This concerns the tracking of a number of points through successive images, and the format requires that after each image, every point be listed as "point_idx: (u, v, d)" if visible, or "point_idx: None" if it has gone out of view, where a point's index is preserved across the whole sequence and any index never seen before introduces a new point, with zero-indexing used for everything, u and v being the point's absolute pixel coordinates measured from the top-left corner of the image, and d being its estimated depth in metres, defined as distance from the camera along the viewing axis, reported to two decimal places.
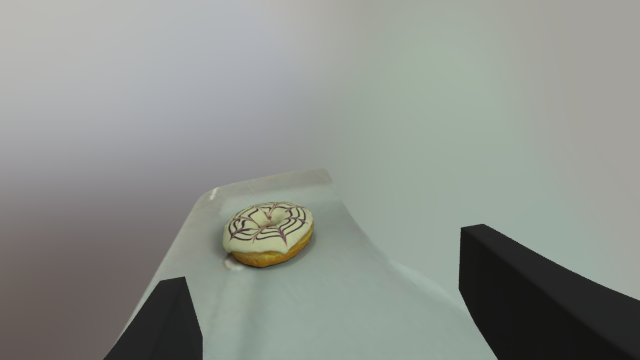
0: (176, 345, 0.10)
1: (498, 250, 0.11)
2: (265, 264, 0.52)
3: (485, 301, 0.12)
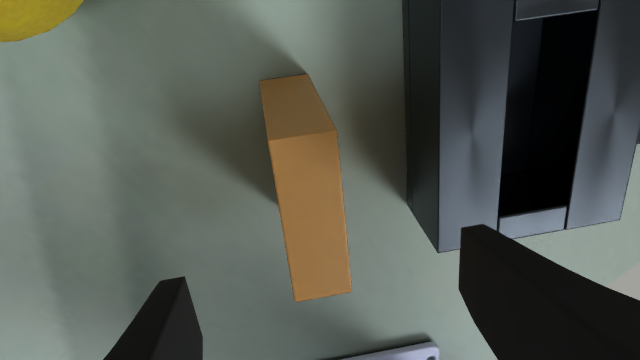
0: (176, 345, 0.10)
1: (498, 250, 0.11)
2: None
3: (485, 301, 0.12)
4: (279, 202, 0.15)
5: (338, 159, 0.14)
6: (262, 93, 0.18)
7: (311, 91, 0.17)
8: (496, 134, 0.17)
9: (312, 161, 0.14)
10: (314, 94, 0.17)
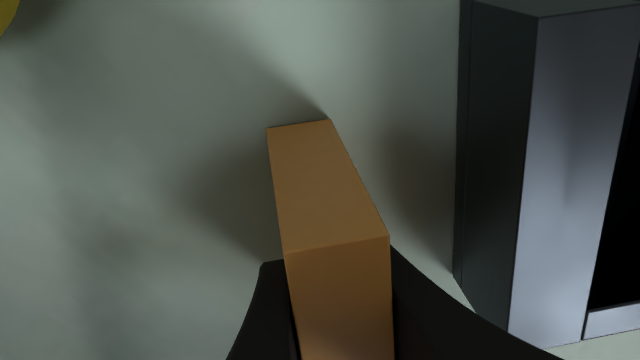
0: (294, 323, 0.10)
1: None
2: None
3: None
4: (298, 335, 0.10)
5: (389, 274, 0.09)
6: (270, 151, 0.13)
7: (339, 151, 0.12)
8: (596, 209, 0.13)
9: (350, 278, 0.09)
10: (344, 157, 0.12)
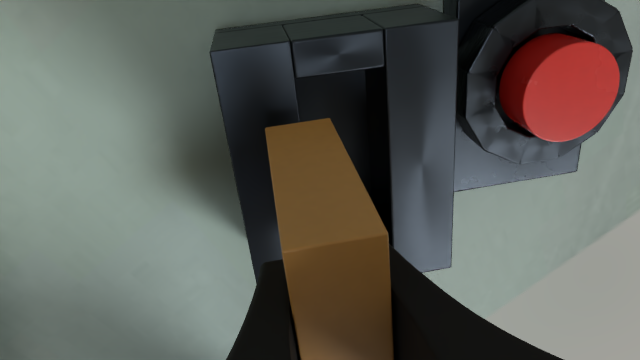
0: None
1: None
2: None
3: None
4: (297, 334, 0.10)
5: (388, 273, 0.09)
6: (270, 150, 0.13)
7: (338, 150, 0.12)
8: None
9: (349, 277, 0.09)
10: (343, 156, 0.12)
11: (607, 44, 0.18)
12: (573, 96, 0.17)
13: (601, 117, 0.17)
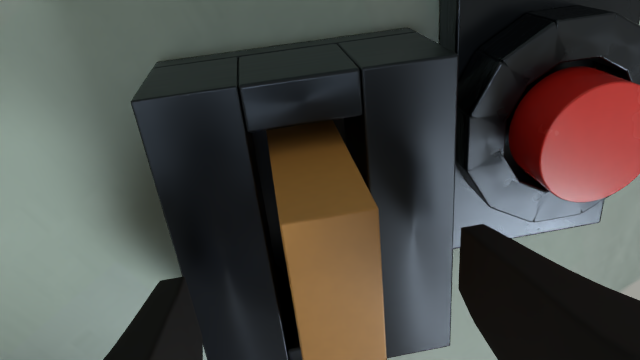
0: (176, 345, 0.10)
1: (498, 250, 0.11)
2: None
3: (485, 301, 0.12)
4: (294, 304, 0.10)
5: (378, 246, 0.10)
6: (269, 137, 0.14)
7: (333, 136, 0.13)
8: (258, 262, 0.14)
9: (342, 250, 0.10)
10: (338, 141, 0.13)
11: None
12: (603, 148, 0.13)
13: (638, 172, 0.14)
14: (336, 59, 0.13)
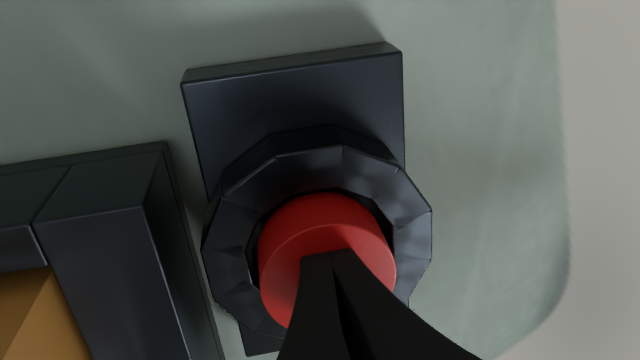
0: None
1: (344, 278, 0.10)
2: None
3: (343, 328, 0.11)
4: None
5: None
6: None
7: (40, 277, 0.12)
8: None
9: None
10: (35, 288, 0.12)
11: (393, 206, 0.13)
12: None
13: None
14: (30, 201, 0.12)
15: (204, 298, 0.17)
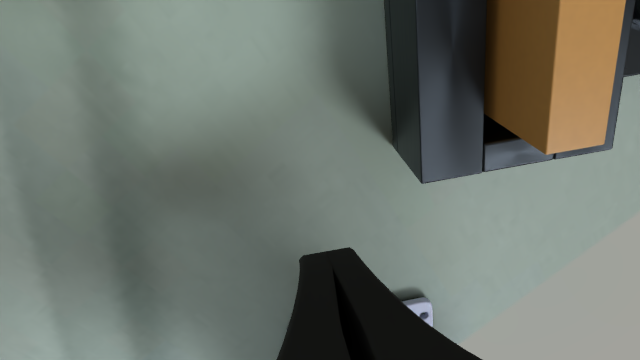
0: None
1: (344, 278, 0.10)
2: None
3: (343, 328, 0.11)
4: (559, 26, 0.13)
5: None
6: None
7: None
8: (477, 50, 0.17)
9: None
10: None
11: None
12: None
13: None
14: None
15: None
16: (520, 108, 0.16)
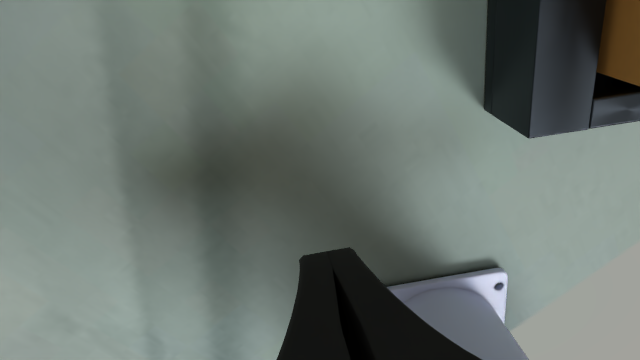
0: None
1: (344, 278, 0.10)
2: None
3: (343, 329, 0.11)
4: None
5: None
6: None
7: None
8: (598, 0, 0.17)
9: None
10: None
11: None
12: None
13: None
14: None
15: None
16: None
